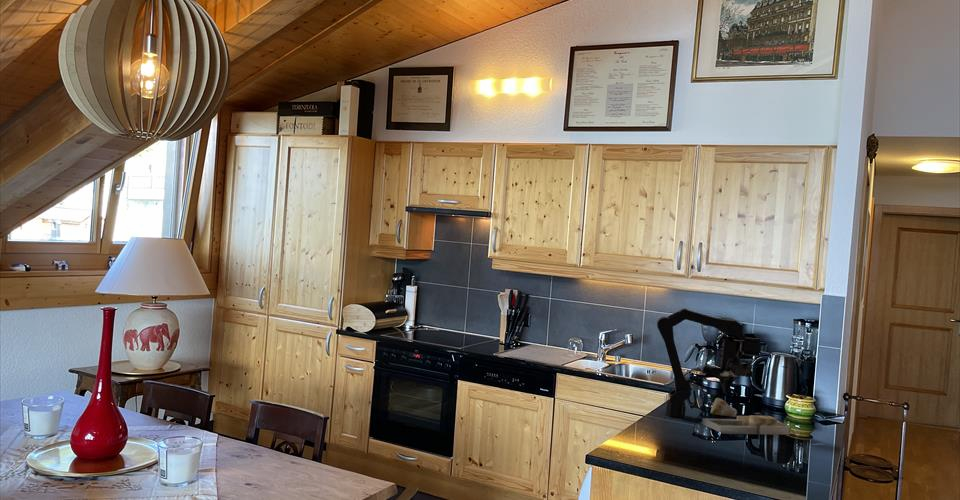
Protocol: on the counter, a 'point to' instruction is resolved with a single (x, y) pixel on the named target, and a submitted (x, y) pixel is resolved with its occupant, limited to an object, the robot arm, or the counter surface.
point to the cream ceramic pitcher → (722, 408)
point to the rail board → (745, 426)
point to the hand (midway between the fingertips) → (725, 393)
